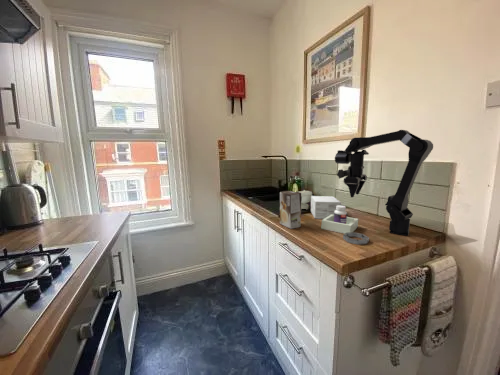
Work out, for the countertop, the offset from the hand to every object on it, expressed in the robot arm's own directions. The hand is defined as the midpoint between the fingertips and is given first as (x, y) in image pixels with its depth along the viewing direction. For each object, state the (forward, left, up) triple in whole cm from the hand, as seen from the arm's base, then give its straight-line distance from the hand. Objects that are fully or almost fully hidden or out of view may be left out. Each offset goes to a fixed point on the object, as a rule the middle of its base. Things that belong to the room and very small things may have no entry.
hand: (354, 195), depth 109 cm
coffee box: (+22, +25, -13) cm, 36 cm away
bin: (+2, +15, -13) cm, 20 cm away
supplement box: (+16, -3, -13) cm, 21 cm away
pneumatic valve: (+30, -7, -13) cm, 34 cm away
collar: (-7, +25, -13) cm, 29 cm away
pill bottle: (+2, +15, -13) cm, 19 cm away
